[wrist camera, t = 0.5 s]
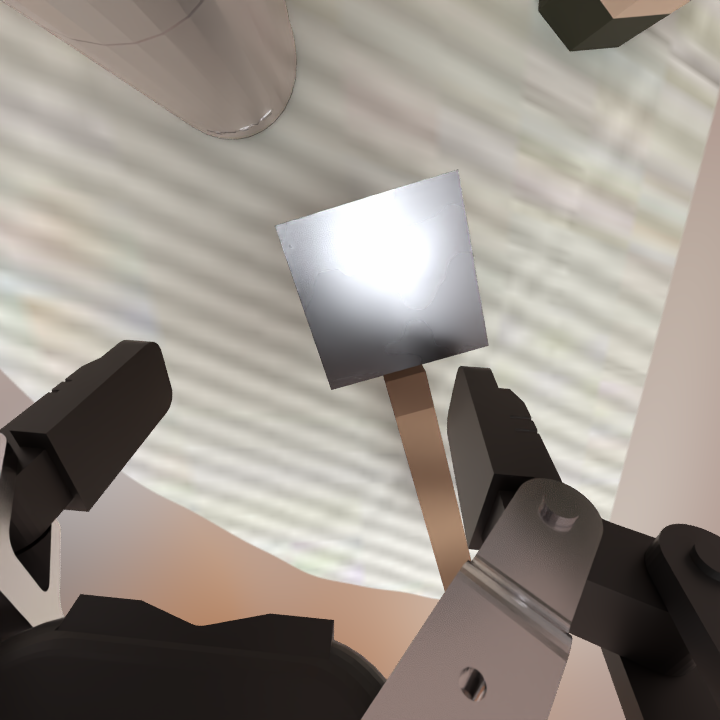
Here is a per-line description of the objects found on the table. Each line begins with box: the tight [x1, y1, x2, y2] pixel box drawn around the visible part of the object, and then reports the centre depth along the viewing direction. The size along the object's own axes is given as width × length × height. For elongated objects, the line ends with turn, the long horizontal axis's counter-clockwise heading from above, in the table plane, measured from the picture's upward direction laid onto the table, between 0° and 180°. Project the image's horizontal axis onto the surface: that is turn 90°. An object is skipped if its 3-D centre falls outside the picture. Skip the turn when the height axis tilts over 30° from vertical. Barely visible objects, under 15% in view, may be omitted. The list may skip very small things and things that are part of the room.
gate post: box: [275, 170, 489, 390], centre depth 19 cm, size 5×5×19 cm
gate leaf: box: [383, 364, 471, 591], centre depth 25 cm, size 22×2×15 cm, turn 16°
